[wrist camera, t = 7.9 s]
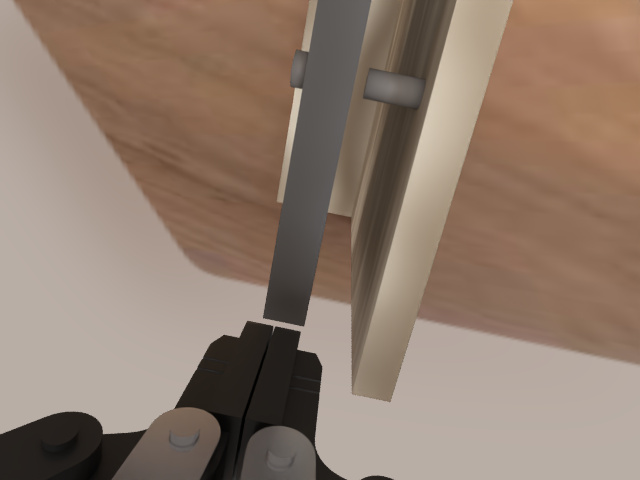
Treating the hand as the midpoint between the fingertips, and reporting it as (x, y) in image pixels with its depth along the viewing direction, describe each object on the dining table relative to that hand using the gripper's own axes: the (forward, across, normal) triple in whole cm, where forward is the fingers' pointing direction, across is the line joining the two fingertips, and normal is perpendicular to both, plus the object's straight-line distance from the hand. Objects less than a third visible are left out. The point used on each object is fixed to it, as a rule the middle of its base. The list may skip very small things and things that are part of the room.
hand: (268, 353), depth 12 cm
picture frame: (+18, 0, -7) cm, 20 cm away
